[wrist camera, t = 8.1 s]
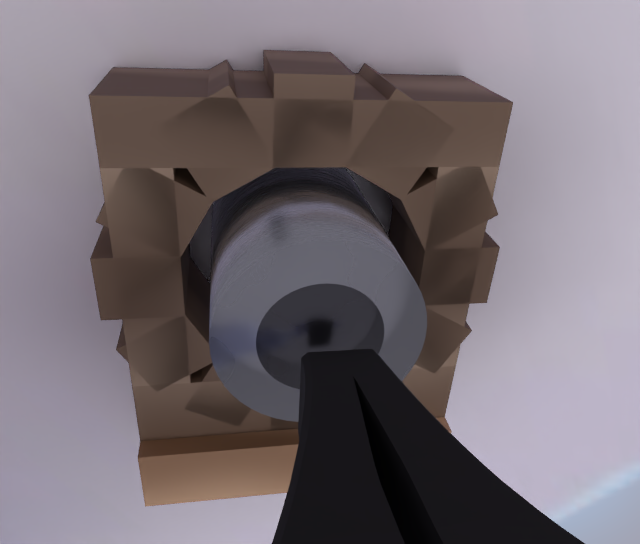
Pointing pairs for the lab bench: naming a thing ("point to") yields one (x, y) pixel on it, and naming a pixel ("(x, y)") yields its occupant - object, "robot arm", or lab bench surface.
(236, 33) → the lab bench surface
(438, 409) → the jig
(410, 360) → the bushing
